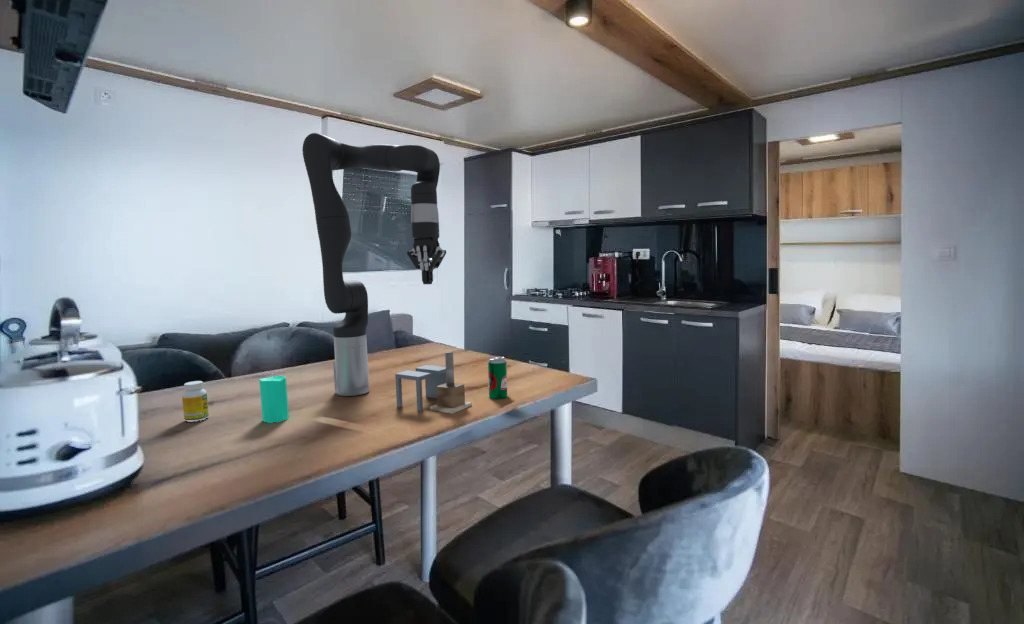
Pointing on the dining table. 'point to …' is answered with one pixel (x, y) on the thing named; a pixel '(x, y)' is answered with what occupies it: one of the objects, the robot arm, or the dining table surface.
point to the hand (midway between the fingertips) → (427, 284)
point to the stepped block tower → (450, 391)
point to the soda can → (497, 378)
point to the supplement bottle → (195, 401)
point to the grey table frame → (432, 379)
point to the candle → (274, 399)
